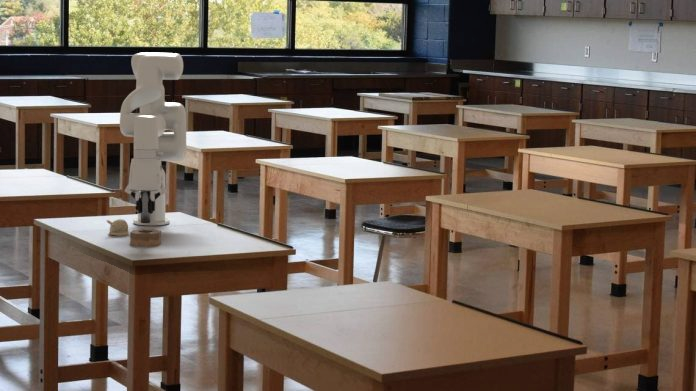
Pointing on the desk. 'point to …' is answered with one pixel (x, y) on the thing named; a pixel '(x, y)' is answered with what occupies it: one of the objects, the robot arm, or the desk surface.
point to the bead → (145, 237)
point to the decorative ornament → (118, 227)
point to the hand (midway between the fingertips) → (145, 212)
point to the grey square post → (145, 206)
